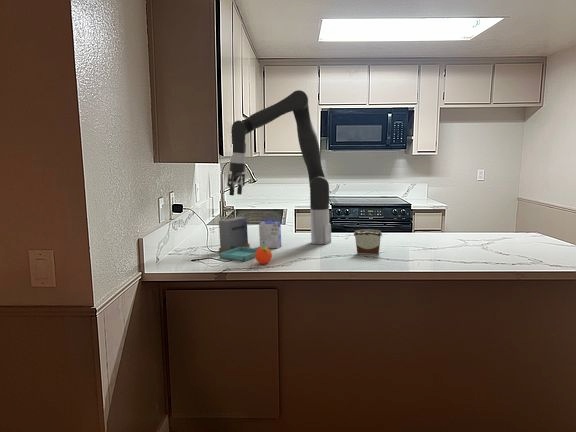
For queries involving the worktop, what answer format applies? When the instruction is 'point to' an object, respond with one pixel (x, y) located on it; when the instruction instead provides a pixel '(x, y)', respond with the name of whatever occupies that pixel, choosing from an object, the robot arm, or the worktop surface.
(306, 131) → the robot arm
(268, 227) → the ink cartridge box
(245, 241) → the printer unit
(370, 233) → the food container
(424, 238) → the worktop surface
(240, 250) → the tray
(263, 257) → the clementine
